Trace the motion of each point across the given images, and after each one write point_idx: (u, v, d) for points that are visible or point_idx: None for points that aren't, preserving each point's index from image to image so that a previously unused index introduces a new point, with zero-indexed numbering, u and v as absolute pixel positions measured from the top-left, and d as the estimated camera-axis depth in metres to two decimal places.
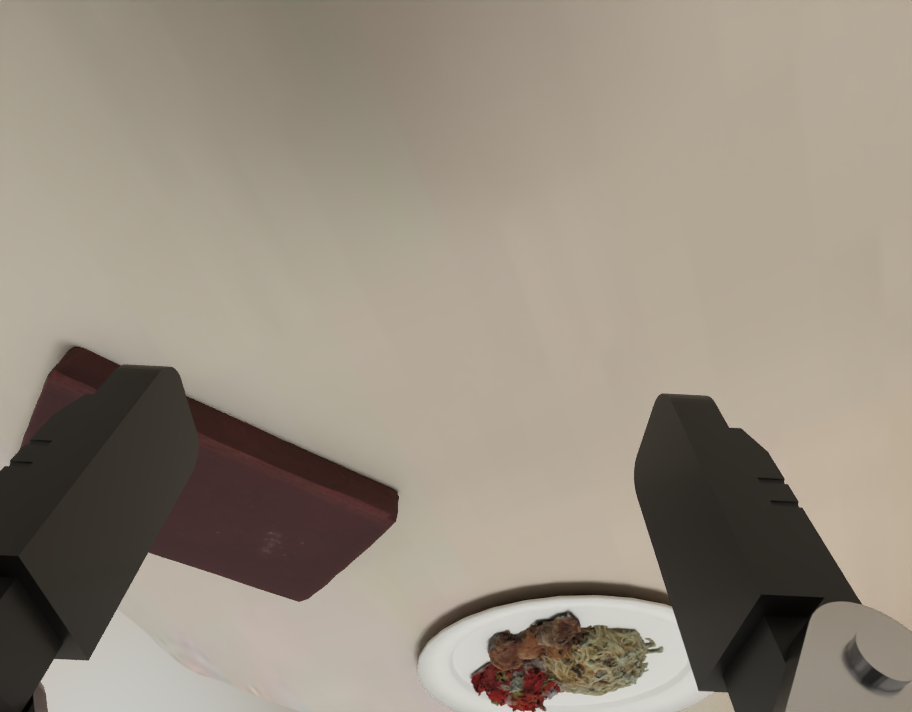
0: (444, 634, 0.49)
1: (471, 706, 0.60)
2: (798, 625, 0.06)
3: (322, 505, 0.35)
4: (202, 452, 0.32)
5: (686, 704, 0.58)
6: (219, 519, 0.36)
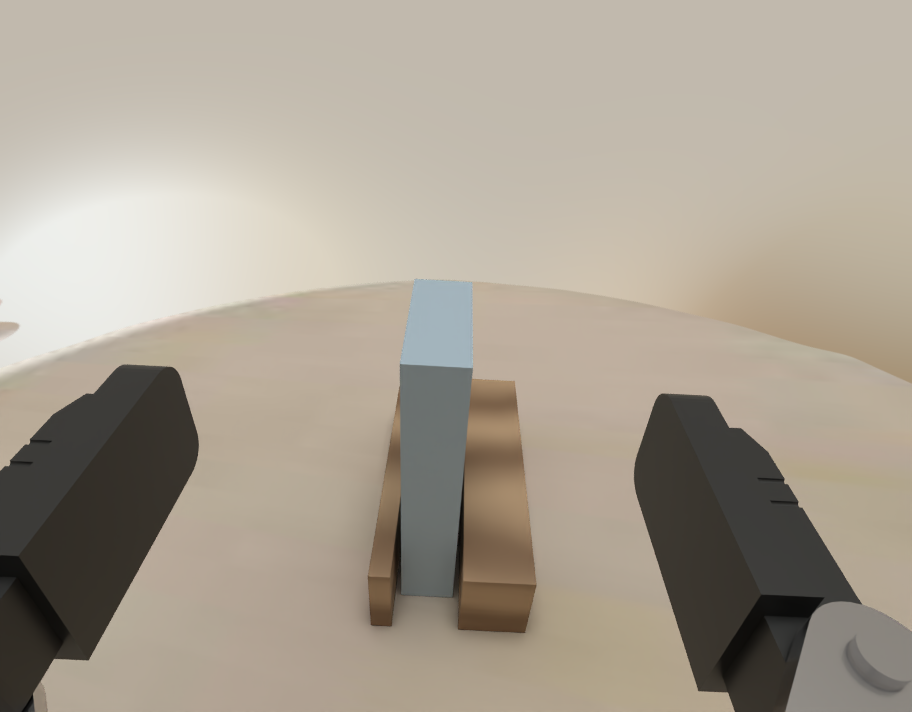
0: None
1: None
2: (798, 625, 0.06)
3: None
4: None
5: None
6: None
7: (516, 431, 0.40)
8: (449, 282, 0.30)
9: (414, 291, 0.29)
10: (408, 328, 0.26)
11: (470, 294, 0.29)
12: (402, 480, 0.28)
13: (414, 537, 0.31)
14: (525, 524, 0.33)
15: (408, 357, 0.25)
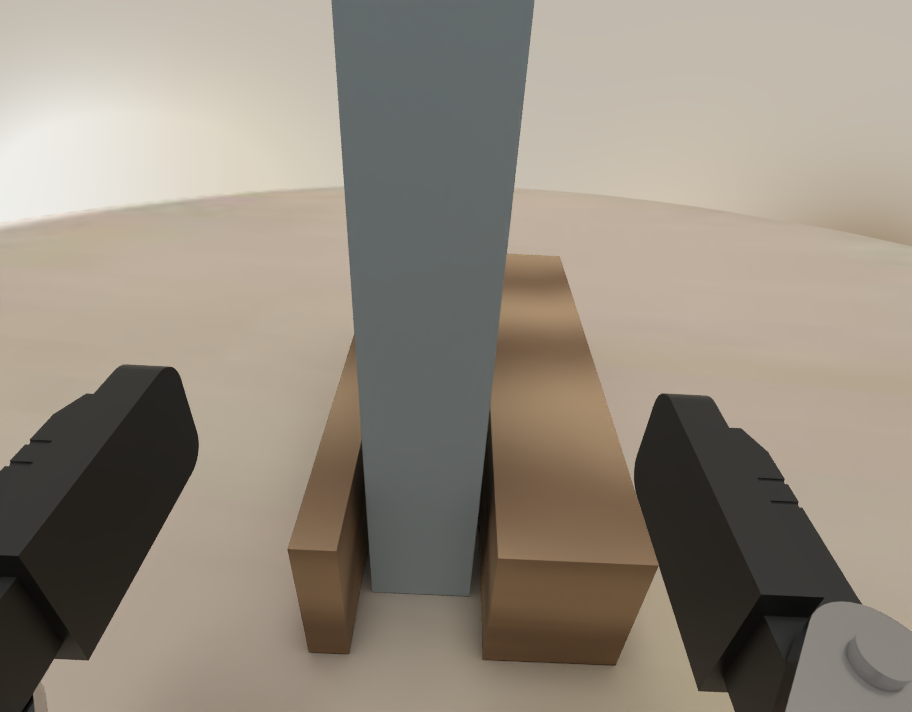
0: None
1: None
2: (797, 625, 0.06)
3: None
4: None
5: None
6: None
7: (572, 315, 0.24)
8: None
9: None
10: None
11: None
12: (357, 318, 0.12)
13: (391, 468, 0.15)
14: (613, 450, 0.17)
15: None
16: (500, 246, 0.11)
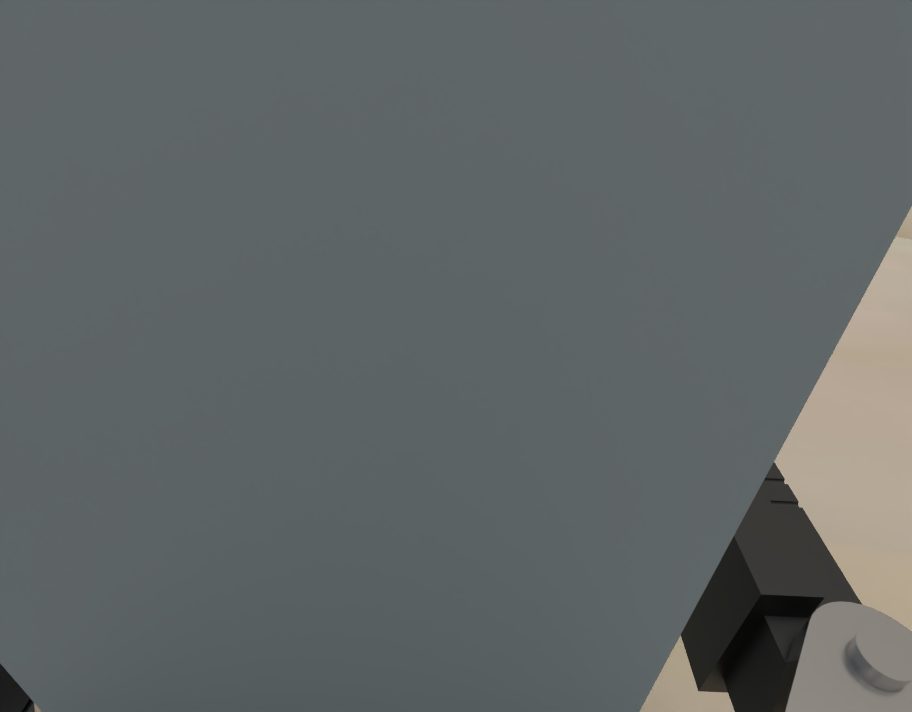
0: None
1: None
2: (798, 625, 0.06)
3: None
4: None
5: None
6: None
7: None
8: None
9: None
10: None
11: None
12: None
13: None
14: None
15: None
16: None
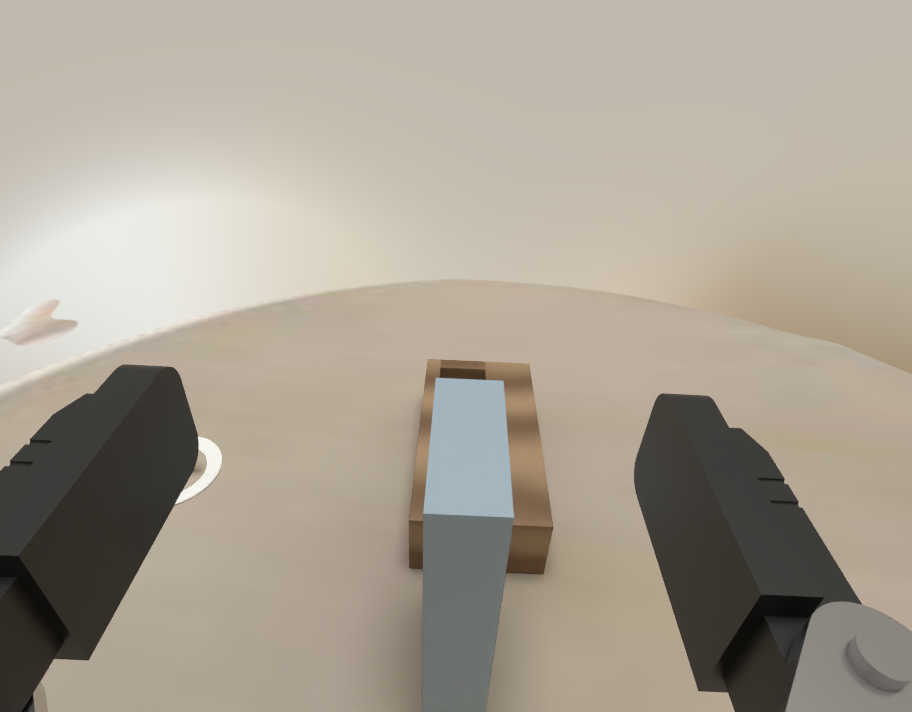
0: None
1: None
2: (798, 625, 0.06)
3: None
4: None
5: None
6: None
7: (532, 405, 0.45)
8: (476, 381, 0.26)
9: (436, 396, 0.25)
10: (431, 454, 0.22)
11: (502, 399, 0.25)
12: (424, 628, 0.24)
13: (437, 682, 0.26)
14: (542, 479, 0.38)
15: (433, 502, 0.20)
16: (497, 607, 0.23)
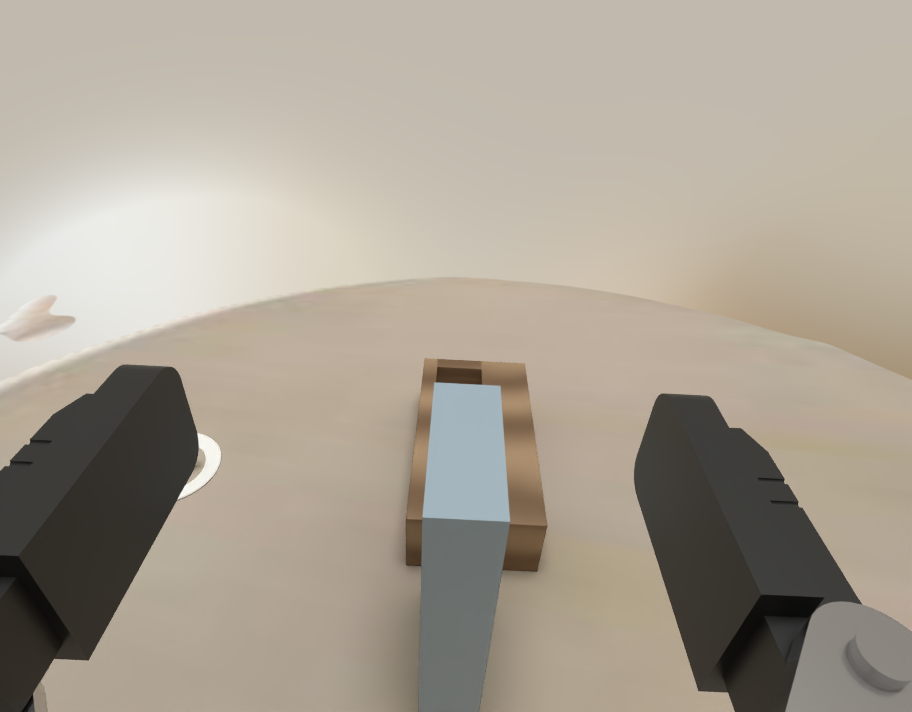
0: None
1: None
2: (798, 625, 0.06)
3: None
4: None
5: None
6: None
7: (527, 405, 0.46)
8: (474, 386, 0.26)
9: (434, 401, 0.25)
10: (430, 459, 0.22)
11: (499, 404, 0.25)
12: (422, 627, 0.24)
13: (434, 678, 0.27)
14: (537, 479, 0.39)
15: (432, 506, 0.20)
16: (492, 606, 0.23)
